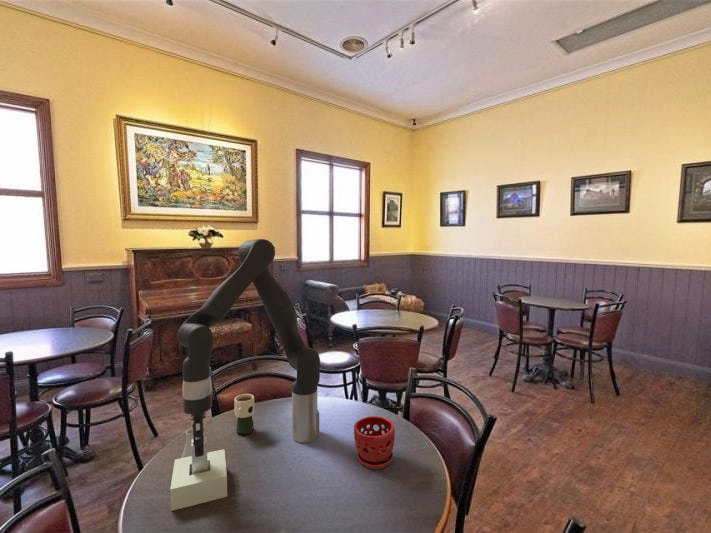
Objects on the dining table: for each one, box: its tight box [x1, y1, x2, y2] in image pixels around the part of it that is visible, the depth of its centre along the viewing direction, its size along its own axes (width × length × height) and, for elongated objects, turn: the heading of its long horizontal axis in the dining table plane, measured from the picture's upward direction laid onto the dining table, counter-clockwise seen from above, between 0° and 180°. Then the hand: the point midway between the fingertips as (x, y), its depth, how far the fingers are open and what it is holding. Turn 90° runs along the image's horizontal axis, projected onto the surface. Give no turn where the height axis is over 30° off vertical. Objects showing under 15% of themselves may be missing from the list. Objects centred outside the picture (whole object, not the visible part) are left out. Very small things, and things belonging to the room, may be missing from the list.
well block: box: [169, 448, 228, 512], centre depth 103 cm, size 14×14×6 cm
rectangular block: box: [191, 435, 208, 475], centre depth 103 cm, size 4×4×14 cm
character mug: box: [233, 393, 256, 435], centre depth 134 cm, size 11×7×13 cm, turn 178°
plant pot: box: [353, 415, 396, 470], centre depth 115 cm, size 13×13×12 cm
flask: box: [180, 428, 193, 458], centre depth 116 cm, size 7×7×10 cm
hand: (199, 447), depth 103 cm, fingers open, 8 cm apart
